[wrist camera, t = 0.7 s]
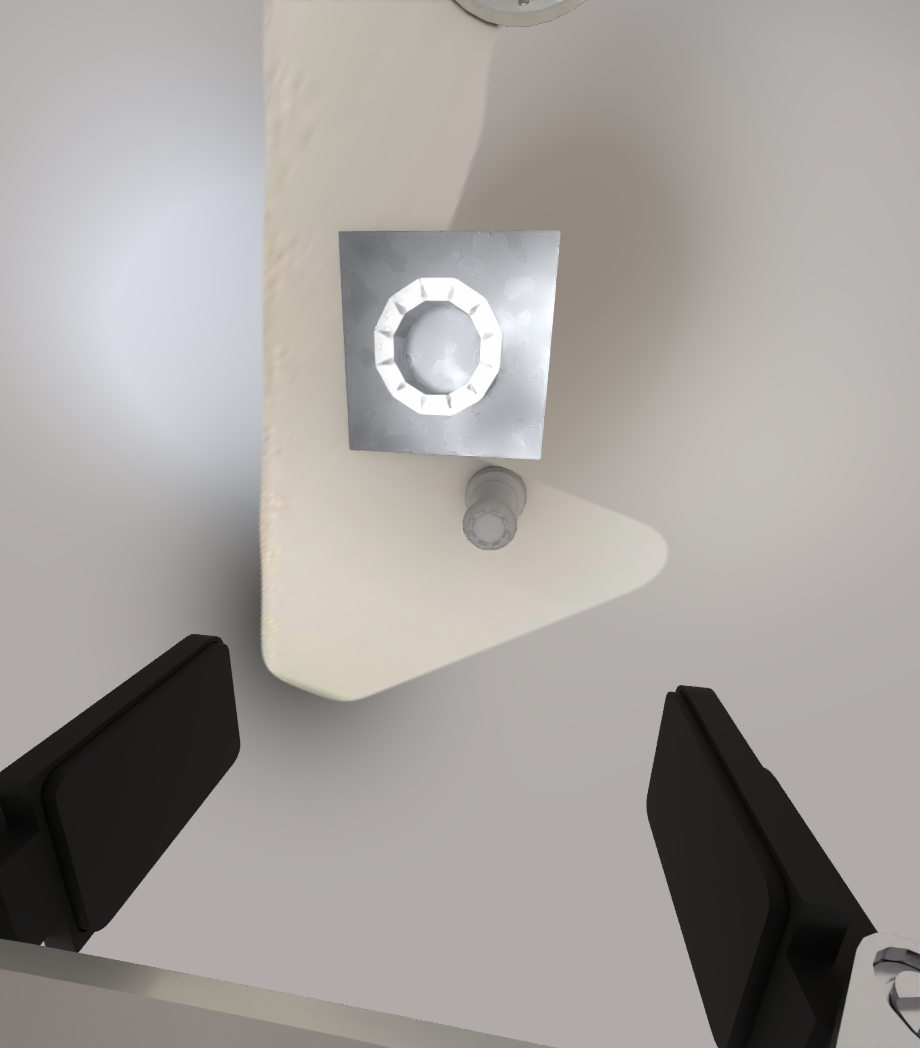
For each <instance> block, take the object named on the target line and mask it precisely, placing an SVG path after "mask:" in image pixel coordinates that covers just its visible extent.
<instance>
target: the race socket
mask: <svg viewBox="0 0 920 1048" xmlns="http://www.w3.org/2000/svg"><path fill="white" fill-rule="evenodd" d="M560 233H561V231H357V232H339V248H340V268H341V288H342V307H343V327H344V346H345V366H346V386H347V405H348V425H349V445H350V450H365V451H384V452H403V453H422V454H441V455H460V456H479V457H498V458H517V459H536V460H541V450H542V439H543V428H544V416H545V404H546V393H547V382H548V370H549V359H550V347H551V336H552V335H551V334H552V324H553V313H554V301H555V290H556V279H557V266H558V256H559V244H560Z"/></svg>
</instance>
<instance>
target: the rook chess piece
mask: <svg viewBox="0 0 920 1048" xmlns="http://www.w3.org/2000/svg"><path fill="white" fill-rule="evenodd" d="M465 496H466V507H467V511H466V513H465V515H464V518H463V531H464V533H465V535H466V537H467V539H468V540H469V541H470V542H471V543H473V544H474V545H475V546H476V547H478V548H481V549H484V550H497V549H499V548H502V547H504V546H506V545H507V544H508V543H509V542H510V541H511V540H512V539H513V537H514V535H515V533H516V530H517V518H518V517H519V516H520V515H521V513H522V511H523V508H524V506H525V502H526V489H525V487H524V485H523V482H522V480H521V479H520V478H519V477H518V476H517V475H516V474H515V473H514V472H513V471H511V470H509V469H506V468H503V467H488V468H485V469H483V470H481V471H479V472H477V473H476V474H475V475H474V477H473V478H472V479H471V480H470V481H469V484H468V487H467V490H466V494H465Z"/></svg>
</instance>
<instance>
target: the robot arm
mask: <svg viewBox="0 0 920 1048" xmlns="http://www.w3.org/2000/svg"><path fill="white" fill-rule="evenodd" d="M455 1H456V2H457V3H459V4H460V5H461V6H462V7H463V8H464V9H465V10H467V11H468V12H470V13H472V14H474V15H476V16H477V17H479V18H481V19H483V20H485V21H488V22H491V23H495V24H499V25H503V26H520V27H522V26H524V27H528V26H532V25H537V24H541V23H545V22H549V21H552V20H553V19H556V18H558V17H560V16H562V15H564V14H566V13H568V12H570V11H572V10H574V9H575V8H576V7H578V6H579V5H580V4H582V3H583V2H584V1H586V0H455ZM522 3H527V5H525V6H521V4H522ZM239 751H240V737H239V729H238V720H237V712H236V704H235V695H234V687H233V679H232V671H231V663H230V655H229V649H228V647H227V645H225V644H223V641H222V640H221V638H219V637H217V636H208V635H199V634H191V635H189V636H187V637H186V638H185V639H183V640H182V641H180V642H179V643H177V644H176V645H175V646H173V647H172V648H171V649H169V650H168V651H166V652H165V653H164V654H162V655H161V656H159V657H158V658H157V659H155V660H154V661H153V662H151V663H150V664H148V665H147V666H146V667H144V668H143V669H142V670H140V671H139V672H137V673H136V674H135V675H133V676H132V677H131V678H129V679H128V680H126V681H125V682H124V683H122V684H121V685H120V686H118V687H117V688H115V689H114V690H113V691H111V692H110V693H109V694H107V695H106V696H104V697H103V698H102V699H100V700H99V701H97V702H96V703H95V704H93V705H92V706H91V707H89V708H88V709H86V710H85V711H84V712H82V713H81V714H79V715H78V716H77V717H75V718H74V719H73V720H71V721H70V722H68V723H67V724H66V725H64V726H63V727H62V728H60V729H59V730H58V731H56V732H55V733H53V734H52V735H51V736H49V737H48V738H46V739H45V740H44V741H42V742H41V743H40V744H38V745H37V746H35V747H34V748H33V749H31V750H30V751H29V752H27V753H26V754H24V755H23V756H22V757H20V758H19V759H17V760H16V761H15V762H13V763H12V764H11V765H9V766H8V767H6V768H5V769H4V770H2V771H1V772H0V1048H555V1047H550V1046H545V1045H539V1044H535V1043H530V1042H526V1041H520V1040H515V1039H511V1038H506V1037H501V1036H496V1035H491V1034H487V1033H482V1032H476V1031H472V1030H467V1029H462V1028H457V1027H452V1026H447V1025H443V1024H438V1023H433V1022H428V1021H423V1020H418V1019H413V1018H408V1017H403V1016H399V1015H394V1014H388V1013H383V1012H379V1011H374V1010H368V1009H364V1008H359V1007H353V1006H348V1005H344V1004H339V1003H334V1002H329V1001H323V1000H318V999H313V998H308V997H303V996H298V995H293V994H288V993H283V992H278V991H273V990H268V989H263V988H258V987H252V986H248V985H242V984H237V983H233V982H227V981H222V980H217V979H212V978H207V977H202V976H197V975H192V974H187V973H181V972H176V971H171V970H165V969H160V968H155V967H150V966H145V965H140V964H134V963H129V962H123V961H119V960H113V959H108V958H103V957H97V956H92V955H87V954H81V953H78V952H79V951H80V950H81V949H82V947H83V946H84V945H85V944H86V942H87V941H88V940H89V939H90V937H91V936H92V935H93V933H94V932H96V931H99V930H101V929H103V928H104V927H105V926H106V925H107V924H108V923H109V922H110V921H111V920H112V919H113V917H114V916H115V915H116V913H117V912H118V911H119V909H120V908H121V907H122V906H123V905H124V903H125V902H126V901H127V899H128V898H129V897H130V896H131V894H132V893H133V891H134V890H135V889H136V888H137V887H138V885H139V884H140V883H141V881H142V880H143V879H144V878H145V876H146V875H147V874H148V872H149V871H150V870H151V868H152V867H153V866H154V865H155V863H156V862H157V861H158V860H159V858H160V857H161V856H162V854H163V853H164V852H165V851H166V849H167V848H168V847H169V845H170V844H171V843H172V842H173V840H174V839H175V838H176V837H177V835H178V834H179V833H180V831H181V830H182V829H183V828H184V826H185V825H186V824H187V822H188V821H189V820H190V819H191V817H192V816H193V815H194V813H195V812H196V811H197V809H198V808H199V807H200V806H201V804H202V803H203V802H204V800H205V799H206V798H207V797H208V795H209V794H210V793H211V792H212V790H213V789H214V788H215V786H216V785H217V784H218V783H219V781H220V780H221V779H222V777H223V776H224V775H225V773H226V772H227V771H228V770H229V768H230V767H231V766H232V765H233V763H234V762H235V760H236V758H237V756H238V754H239ZM647 815H648V820H649V823H650V827H651V830H652V833H653V837H654V840H655V843H656V847H657V850H658V854H659V857H660V860H661V864H662V867H663V870H664V874H665V877H666V880H667V884H668V887H669V890H670V893H671V897H672V901H673V904H674V907H675V911H676V914H677V917H678V921H679V924H680V927H681V931H682V934H683V937H684V941H685V944H686V947H687V951H688V954H689V958H690V961H691V964H692V968H693V971H694V974H695V978H696V981H697V984H698V987H699V991H700V994H701V998H702V1001H703V1005H704V1008H705V1011H706V1014H707V1018H708V1021H709V1024H710V1028H711V1031H712V1034H713V1037H714V1040H715V1042H716V1044H717V1047H718V1048H920V943H919V942H917V941H914V940H911V939H908V938H905V937H902V936H899V935H896V934H887V933H886V934H885V933H878V932H877V930H876V929H875V927H874V926H873V924H872V923H871V921H870V920H869V919H868V917H867V915H866V914H865V912H864V911H863V909H862V908H861V906H860V905H859V903H858V902H857V900H856V899H855V897H854V896H853V894H852V893H851V891H850V890H849V888H848V887H847V885H846V884H845V882H844V881H843V879H842V878H841V876H840V874H839V873H838V871H837V870H836V869H835V867H834V865H833V864H832V863H831V861H830V859H829V858H828V857H827V855H826V853H825V852H824V850H823V849H822V847H821V846H820V844H819V843H818V842H817V840H816V838H815V837H814V835H813V834H812V832H811V831H810V829H809V828H808V826H807V825H806V823H805V822H804V820H803V819H802V817H801V816H800V814H799V813H798V811H797V810H796V808H795V807H794V805H793V804H792V802H791V800H790V799H789V798H788V796H787V794H786V793H785V791H784V790H783V789H782V787H781V785H780V784H779V782H778V781H777V779H776V778H775V777H774V776H773V774H772V773H771V772H770V771H769V770H767V769H766V768H764V767H763V766H762V765H761V763H760V762H759V760H758V759H757V757H756V756H755V754H754V753H753V751H752V749H751V748H750V747H749V745H748V743H747V742H746V740H745V739H744V737H743V736H742V734H741V733H740V731H739V730H738V728H737V726H736V725H735V723H734V722H733V720H732V719H731V717H730V715H729V714H728V712H727V711H726V709H725V708H724V706H723V705H722V703H721V702H720V700H719V699H718V697H717V695H716V694H715V692H714V691H713V690H712V689H710V688H702V687H692V686H684V685H680V686H678V687H677V689H676V692H668V694H667V695H666V700H665V704H664V710H663V715H662V720H661V725H660V731H659V736H658V742H657V747H656V752H655V757H654V762H653V768H652V773H651V778H650V784H649V789H648V794H647ZM43 941H44V943H45V946H46V947H45V946H40V945H41V943H42V942H43Z"/></svg>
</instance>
